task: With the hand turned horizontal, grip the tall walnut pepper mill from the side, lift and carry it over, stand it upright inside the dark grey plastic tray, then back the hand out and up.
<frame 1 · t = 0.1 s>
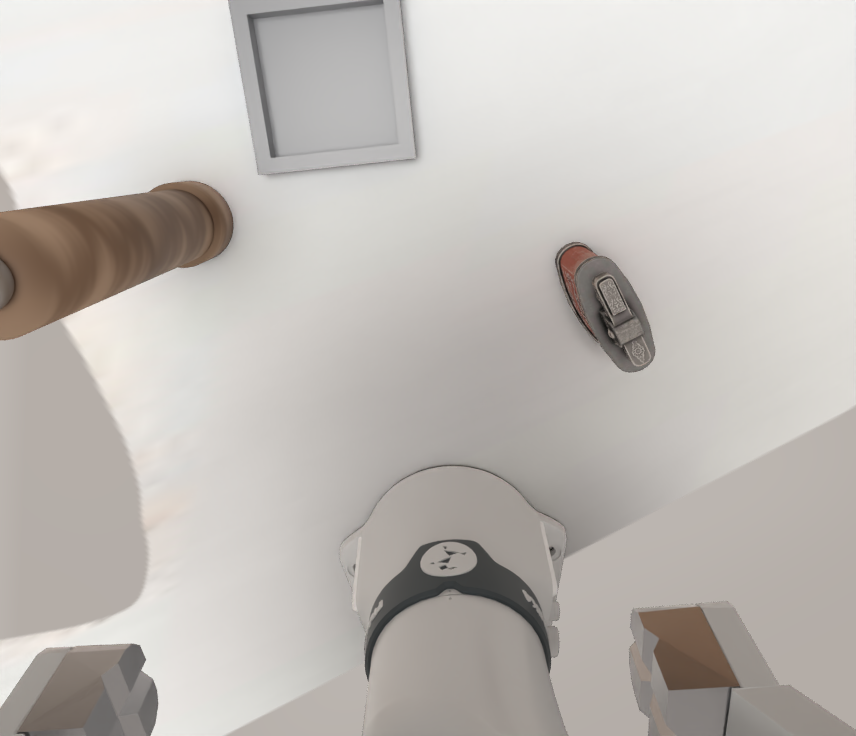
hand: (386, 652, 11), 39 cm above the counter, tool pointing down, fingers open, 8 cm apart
pepper mill: (194, 221, 47), on the counter
lighter: (589, 292, 49), on the counter
tray: (329, 84, 44), on the counter
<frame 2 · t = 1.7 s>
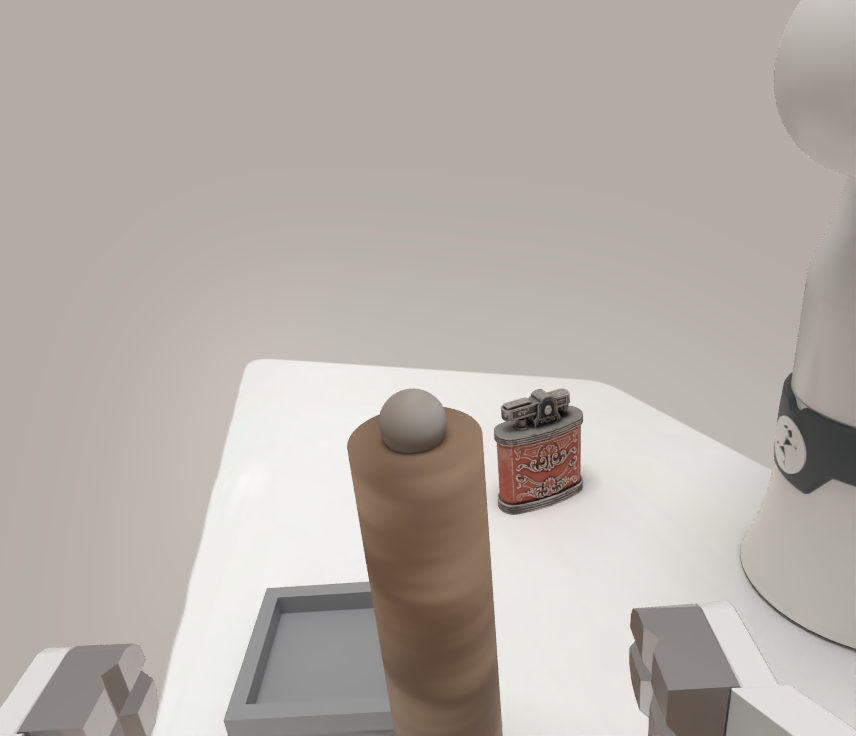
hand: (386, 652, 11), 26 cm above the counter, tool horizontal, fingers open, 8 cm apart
lighter: (540, 497, 58), on the counter
tray: (333, 664, 43), on the counter
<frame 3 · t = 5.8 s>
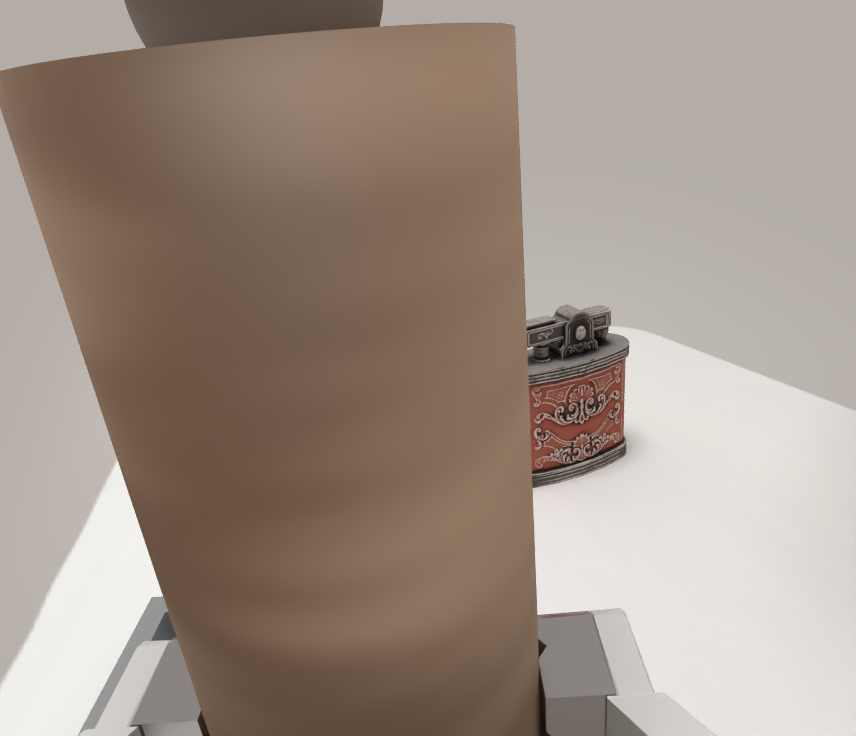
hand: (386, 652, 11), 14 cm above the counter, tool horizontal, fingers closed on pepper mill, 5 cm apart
lighter: (567, 465, 41), on the counter
tray: (244, 723, 26), on the counter
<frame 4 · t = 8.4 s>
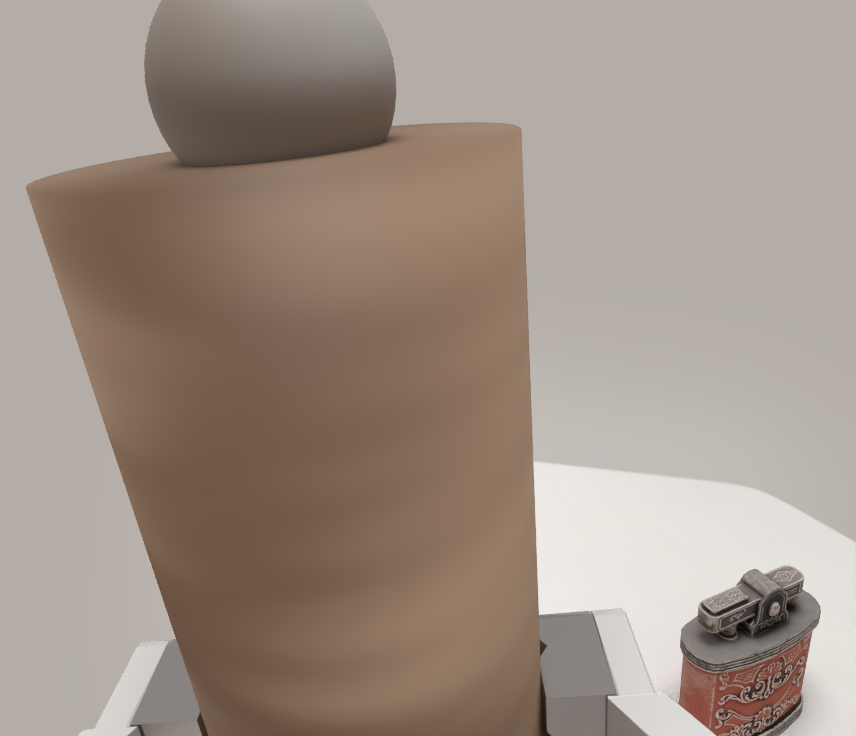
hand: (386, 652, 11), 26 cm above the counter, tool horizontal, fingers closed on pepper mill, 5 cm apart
lighter: (737, 723, 37), on the counter
when the fingers open (16 cm above the counter, at t = 11.0 s): pepper mill stays where it is, resting on tray.
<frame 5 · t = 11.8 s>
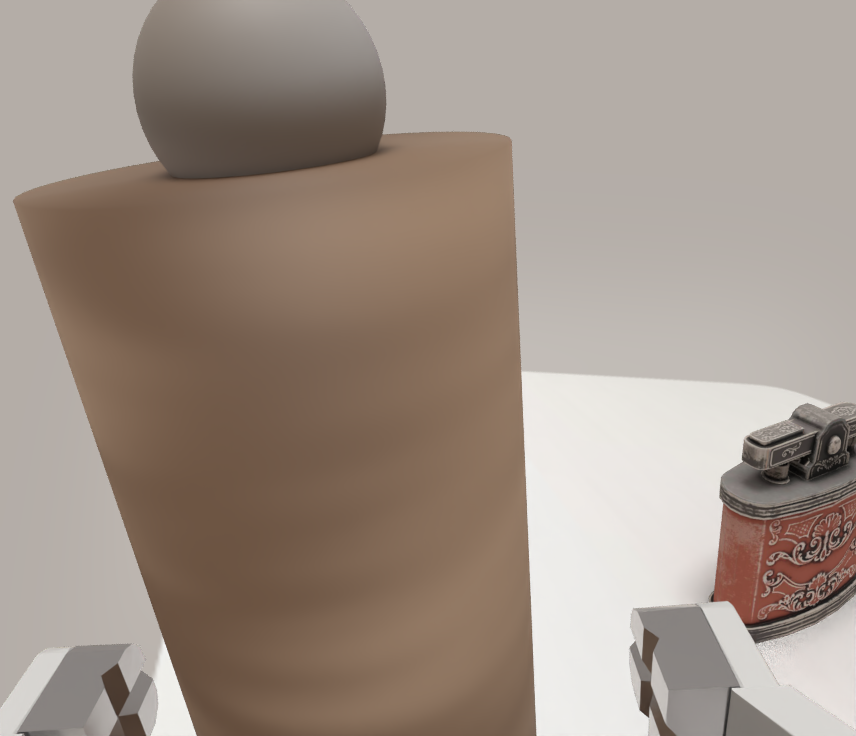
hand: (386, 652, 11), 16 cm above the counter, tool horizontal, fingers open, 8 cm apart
lighter: (782, 603, 31), on the counter
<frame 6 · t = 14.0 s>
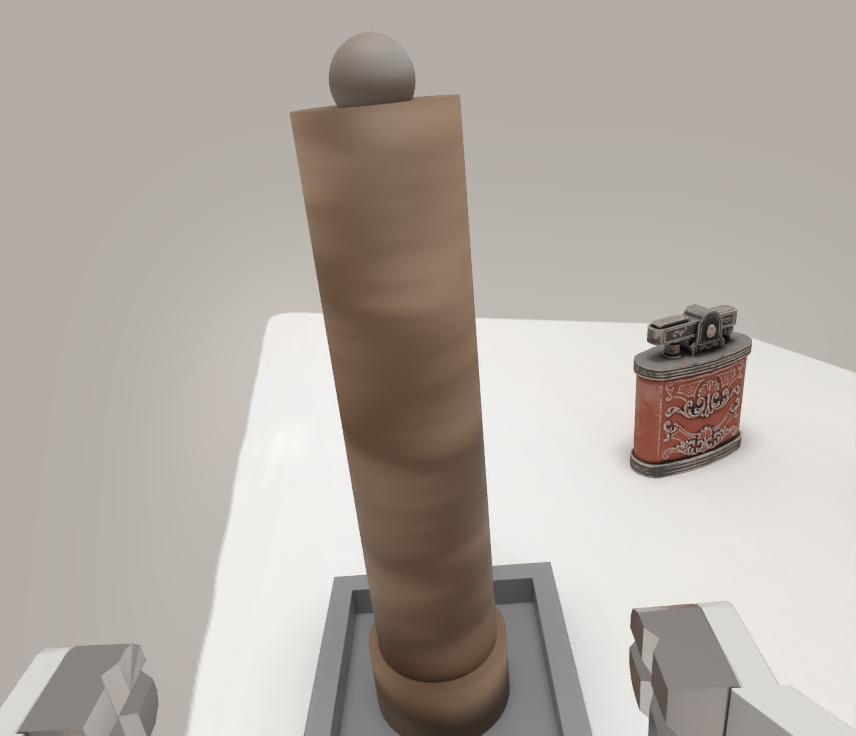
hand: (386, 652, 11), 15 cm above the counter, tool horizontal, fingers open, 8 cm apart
pepper mill: (443, 685, 28), point 1 cm above the counter, touching tray
lighter: (685, 456, 43), on the counter
tray: (447, 691, 28), on the counter
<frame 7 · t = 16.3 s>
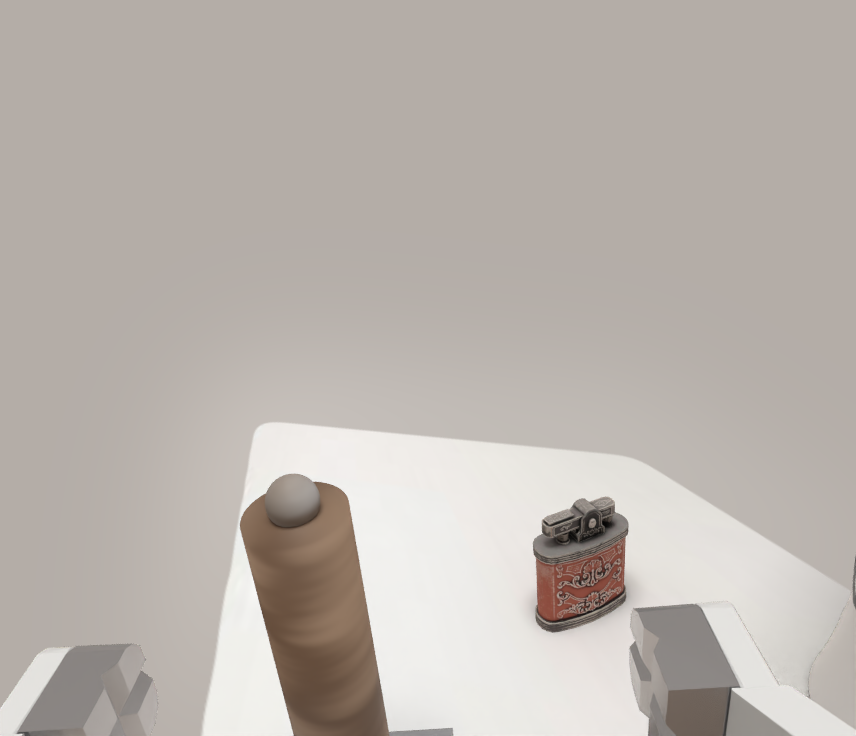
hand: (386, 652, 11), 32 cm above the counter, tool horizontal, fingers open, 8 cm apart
lighter: (581, 609, 54), on the counter
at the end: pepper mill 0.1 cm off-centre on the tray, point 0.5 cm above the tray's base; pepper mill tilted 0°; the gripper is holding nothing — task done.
